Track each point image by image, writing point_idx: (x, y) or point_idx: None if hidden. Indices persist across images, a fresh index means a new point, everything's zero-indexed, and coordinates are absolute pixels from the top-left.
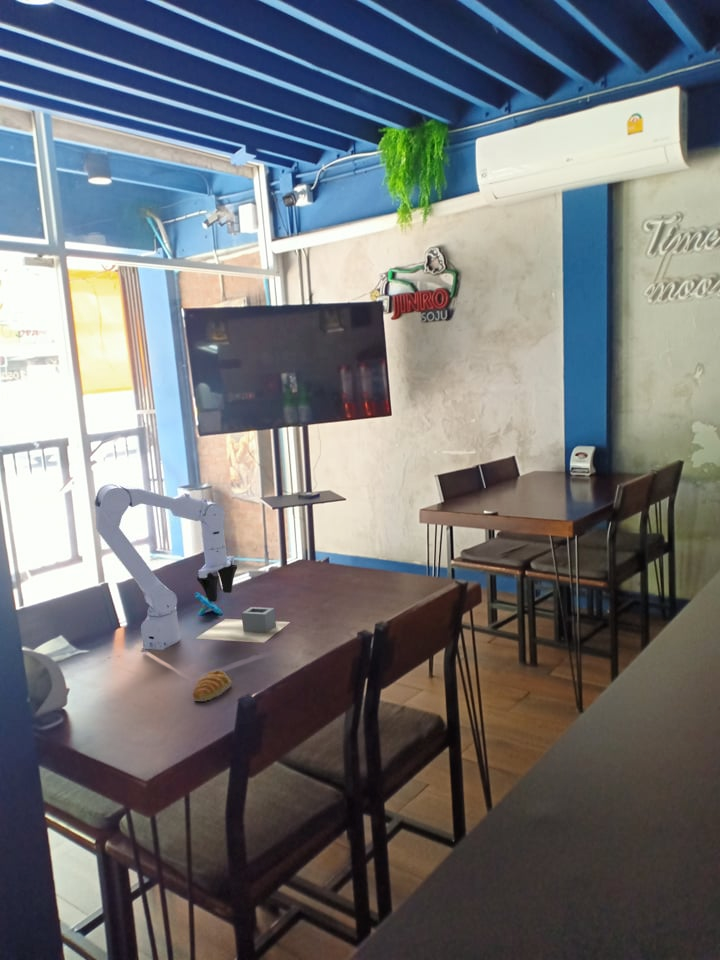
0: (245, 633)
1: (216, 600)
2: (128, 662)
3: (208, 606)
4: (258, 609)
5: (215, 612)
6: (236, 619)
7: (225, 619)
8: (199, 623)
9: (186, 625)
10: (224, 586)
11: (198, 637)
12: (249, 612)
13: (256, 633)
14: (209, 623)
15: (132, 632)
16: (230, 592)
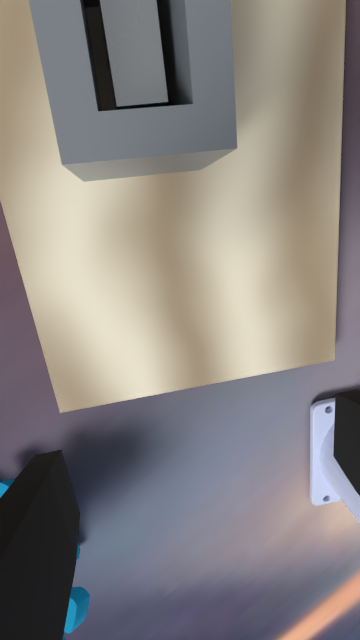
0: None
1: (338, 395)
2: None
3: None
4: (84, 37)
5: None
6: (44, 349)
7: (68, 406)
8: (122, 499)
9: (161, 527)
10: (61, 570)
11: (322, 354)
12: (206, 69)
13: None
14: (106, 462)
15: (274, 622)
16: (55, 452)
